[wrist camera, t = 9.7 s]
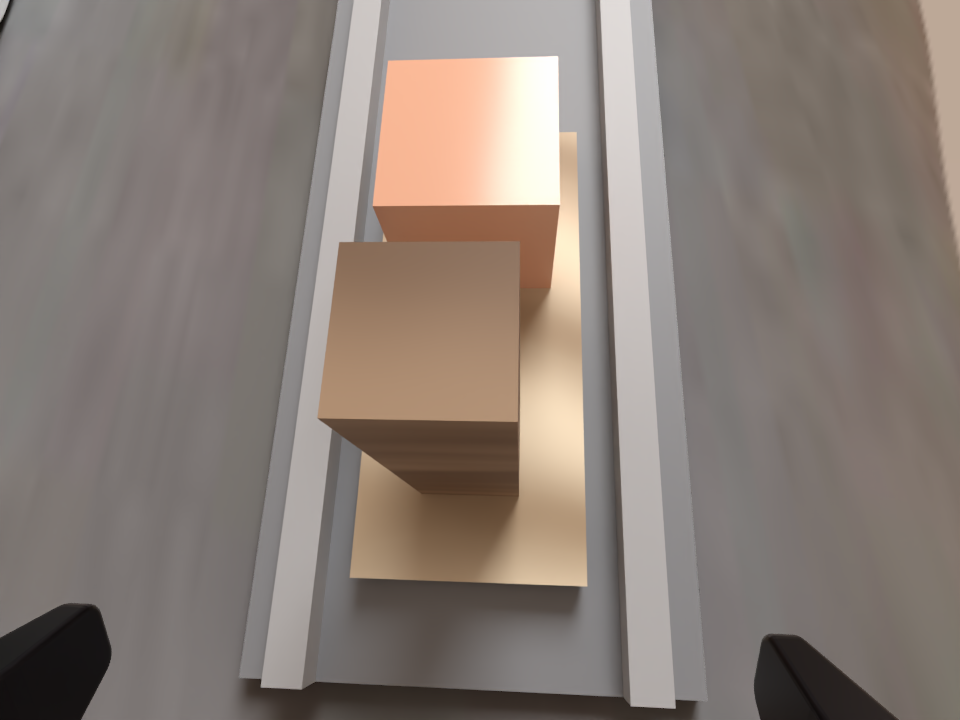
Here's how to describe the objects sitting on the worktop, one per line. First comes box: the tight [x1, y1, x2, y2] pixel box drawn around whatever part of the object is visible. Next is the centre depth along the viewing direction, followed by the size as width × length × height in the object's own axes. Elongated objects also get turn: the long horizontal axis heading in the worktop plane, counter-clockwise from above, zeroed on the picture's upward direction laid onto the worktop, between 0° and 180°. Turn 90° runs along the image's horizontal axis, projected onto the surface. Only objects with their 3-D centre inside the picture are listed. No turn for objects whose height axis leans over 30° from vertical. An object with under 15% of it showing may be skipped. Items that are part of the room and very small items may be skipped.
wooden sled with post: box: [317, 132, 587, 586], centre depth 16 cm, size 16×7×11 cm, turn 178°
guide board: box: [239, 0, 708, 709], centre depth 22 cm, size 30×14×2 cm, turn 178°
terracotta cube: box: [373, 56, 560, 288], centre depth 19 cm, size 5×5×5 cm
